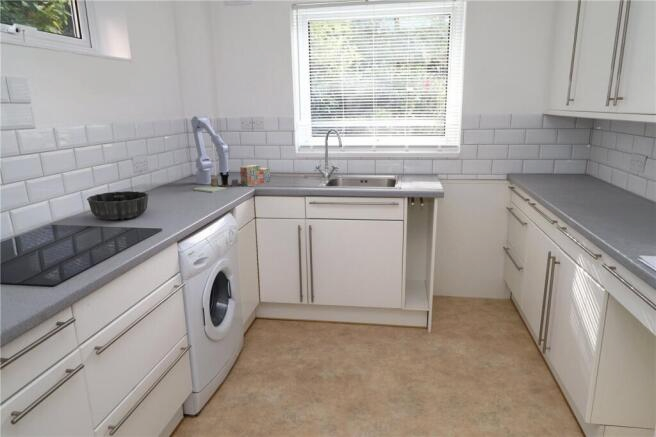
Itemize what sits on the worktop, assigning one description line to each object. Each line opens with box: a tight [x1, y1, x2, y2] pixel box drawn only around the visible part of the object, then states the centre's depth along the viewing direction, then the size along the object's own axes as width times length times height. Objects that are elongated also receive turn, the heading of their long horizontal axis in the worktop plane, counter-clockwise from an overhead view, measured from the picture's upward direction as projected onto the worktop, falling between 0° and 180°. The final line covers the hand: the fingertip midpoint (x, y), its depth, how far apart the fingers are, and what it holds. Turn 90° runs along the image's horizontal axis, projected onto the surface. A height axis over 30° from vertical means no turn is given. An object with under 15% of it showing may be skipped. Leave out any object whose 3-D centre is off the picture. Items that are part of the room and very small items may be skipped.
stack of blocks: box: [239, 164, 271, 187], centre depth 294 cm, size 21×6×12 cm, turn 144°
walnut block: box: [220, 177, 229, 188], centre depth 283 cm, size 4×4×6 cm
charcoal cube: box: [230, 178, 239, 187], centre depth 285 cm, size 4×4×4 cm
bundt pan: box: [86, 190, 150, 221], centre depth 207 cm, size 26×26×10 cm
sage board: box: [192, 185, 227, 193], centre depth 272 cm, size 16×12×1 cm
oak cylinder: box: [210, 178, 219, 187], centre depth 282 cm, size 4×4×5 cm
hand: (224, 184), depth 284 cm, fingers open, 7 cm apart
